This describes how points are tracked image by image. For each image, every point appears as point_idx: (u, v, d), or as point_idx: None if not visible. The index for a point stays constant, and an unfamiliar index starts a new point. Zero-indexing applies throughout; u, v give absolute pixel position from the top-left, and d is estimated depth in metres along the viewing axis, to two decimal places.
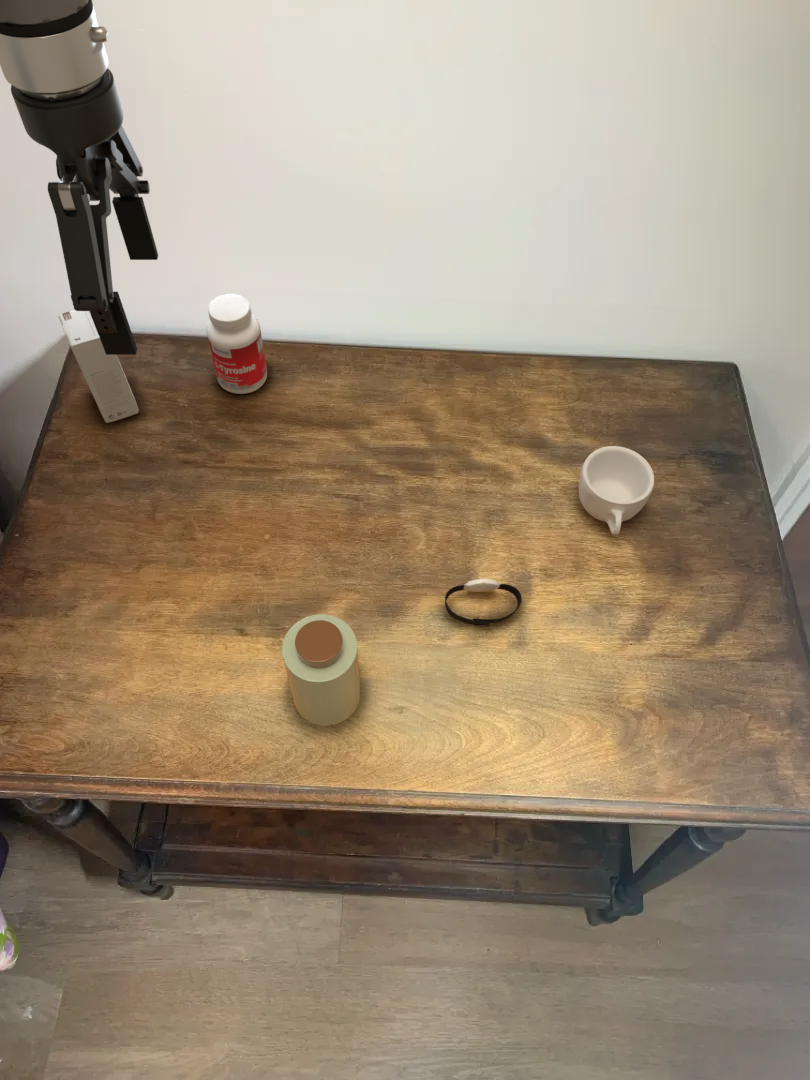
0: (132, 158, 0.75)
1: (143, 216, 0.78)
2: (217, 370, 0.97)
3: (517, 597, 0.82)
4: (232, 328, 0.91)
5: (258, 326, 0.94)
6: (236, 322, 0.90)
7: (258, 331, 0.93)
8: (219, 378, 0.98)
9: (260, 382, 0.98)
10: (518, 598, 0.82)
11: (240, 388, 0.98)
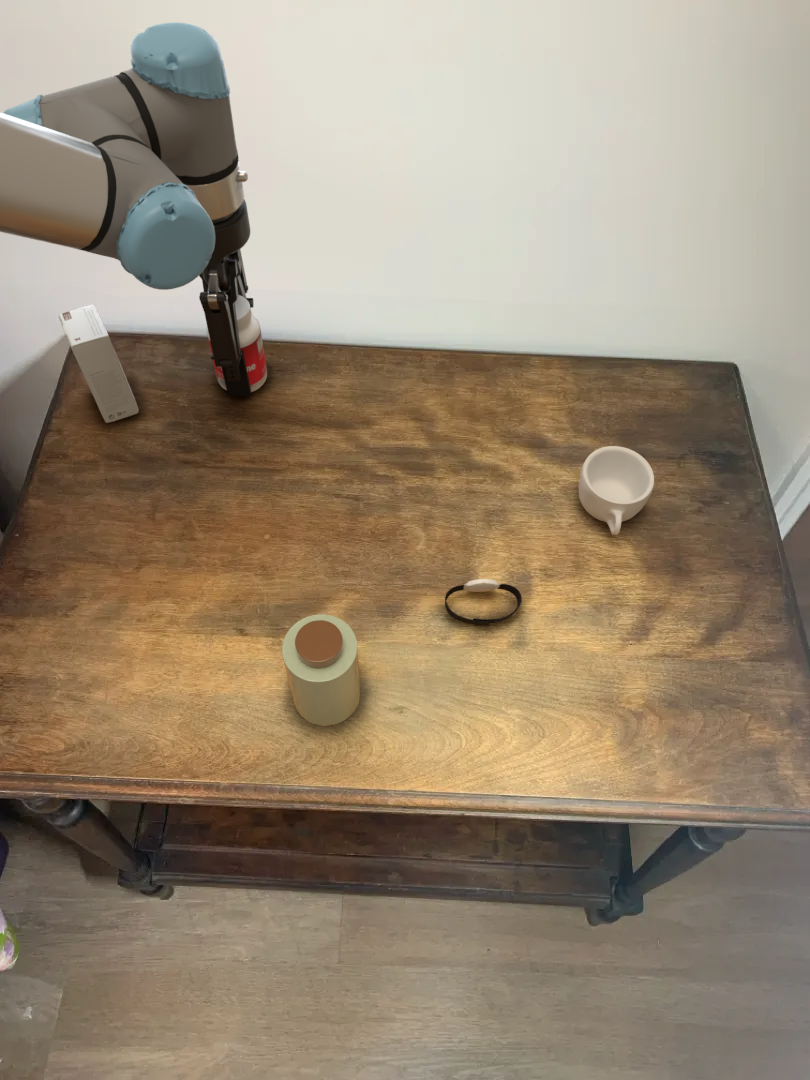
0: (243, 274, 0.94)
1: None
2: (217, 370, 0.97)
3: (517, 597, 0.82)
4: None
5: (258, 326, 0.94)
6: (237, 322, 0.90)
7: (258, 331, 0.93)
8: (219, 378, 0.98)
9: (260, 382, 0.98)
10: (518, 598, 0.82)
11: None
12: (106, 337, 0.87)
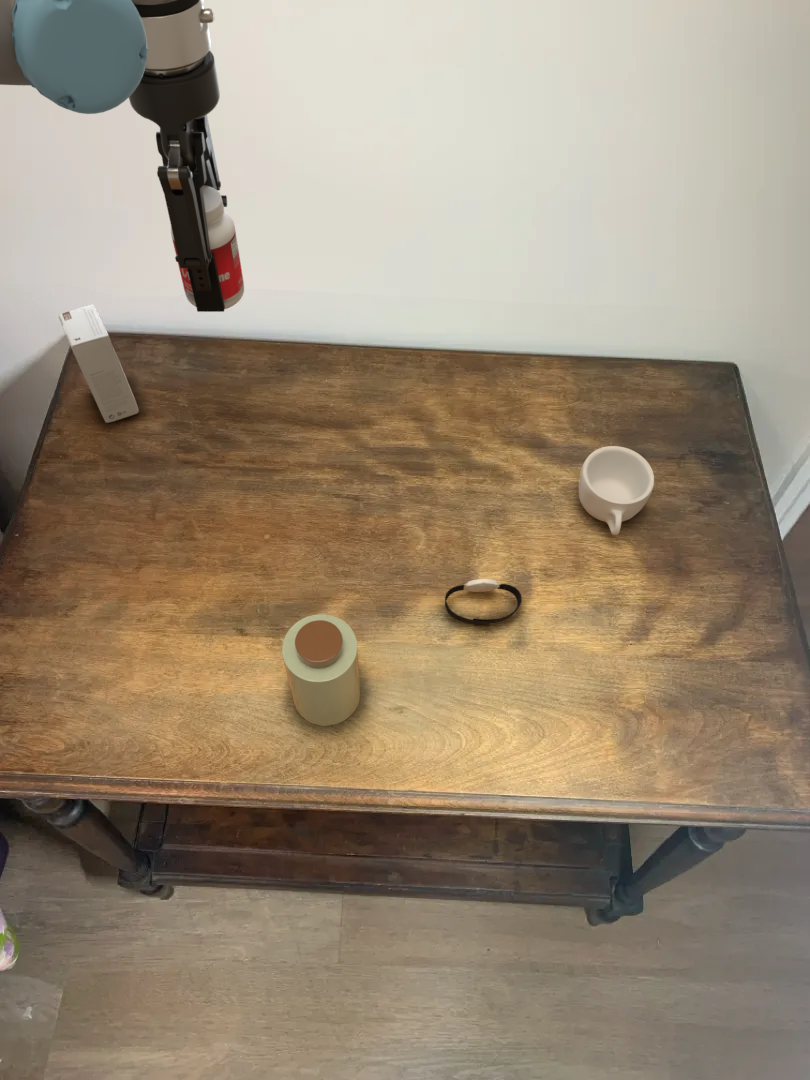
0: (214, 165, 0.80)
1: None
2: (184, 281, 0.82)
3: (517, 597, 0.82)
4: None
5: (232, 225, 0.79)
6: (206, 216, 0.76)
7: (232, 231, 0.79)
8: (187, 291, 0.83)
9: (236, 297, 0.84)
10: (518, 598, 0.82)
11: None
12: (106, 337, 0.87)
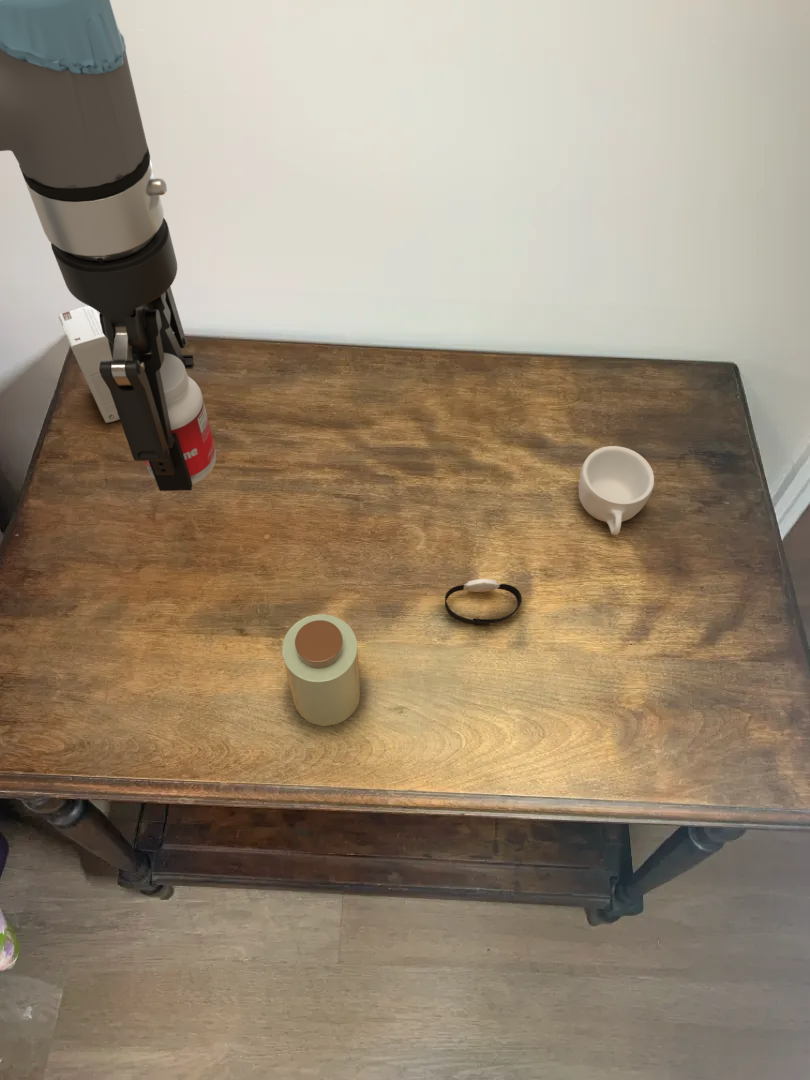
0: (177, 323, 0.66)
1: None
2: None
3: (517, 597, 0.82)
4: None
5: (199, 397, 0.66)
6: (165, 395, 0.63)
7: (199, 404, 0.66)
8: (148, 466, 0.70)
9: (206, 470, 0.71)
10: (518, 598, 0.82)
11: None
12: (106, 337, 0.87)
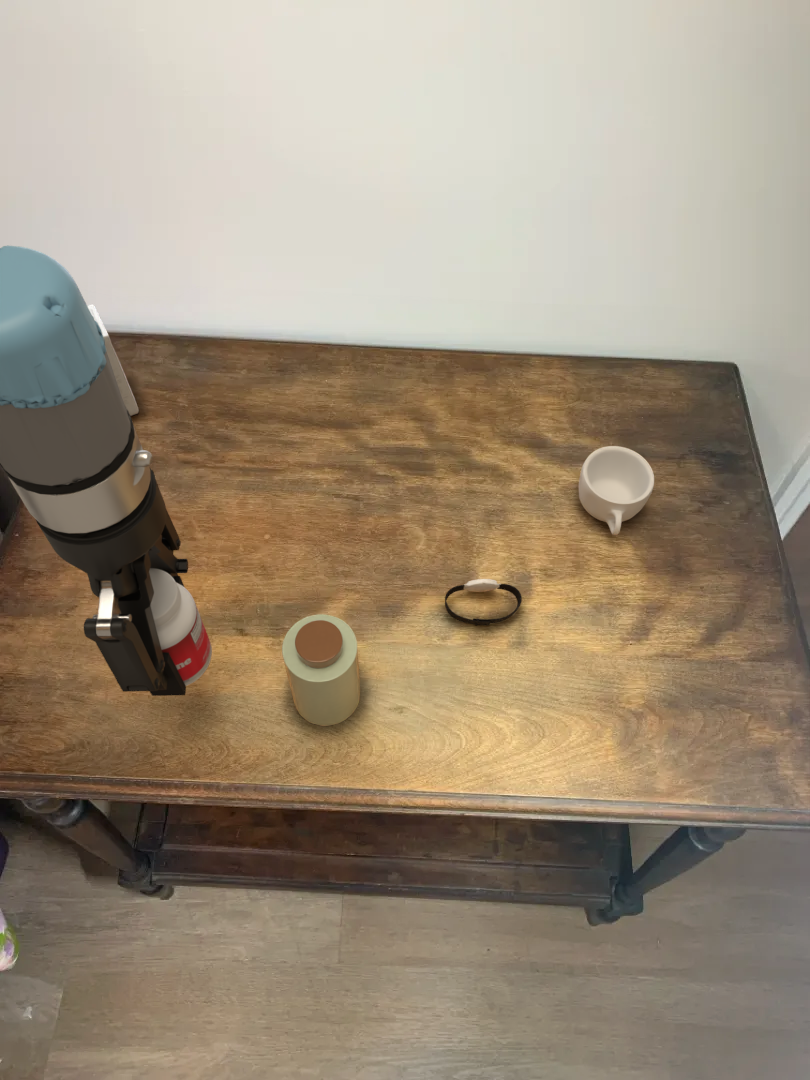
0: (170, 532, 0.64)
1: None
2: None
3: (517, 597, 0.82)
4: None
5: (192, 611, 0.63)
6: (156, 620, 0.60)
7: (192, 619, 0.63)
8: None
9: (200, 672, 0.68)
10: (518, 598, 0.82)
11: None
12: (106, 337, 0.87)
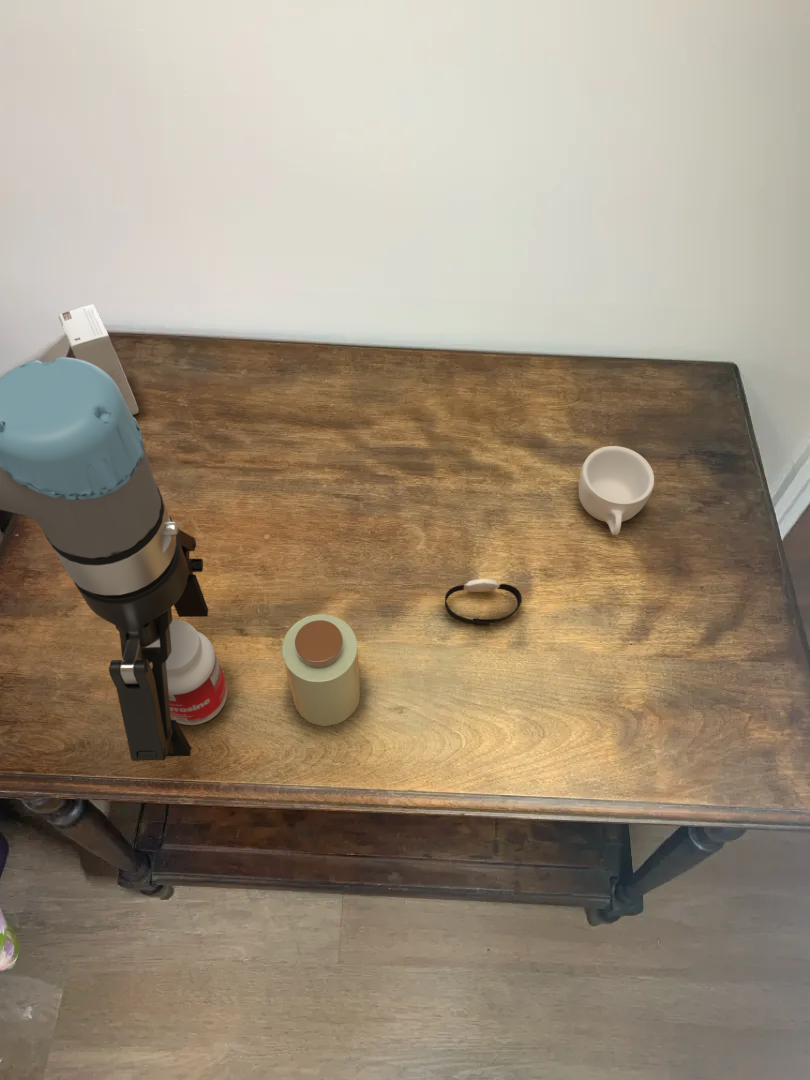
0: (187, 545, 0.70)
1: (196, 590, 0.73)
2: None
3: (517, 597, 0.82)
4: (174, 674, 0.67)
5: (212, 658, 0.70)
6: (181, 668, 0.67)
7: (212, 665, 0.70)
8: None
9: (217, 709, 0.75)
10: (518, 598, 0.82)
11: (191, 722, 0.74)
12: (106, 337, 0.87)
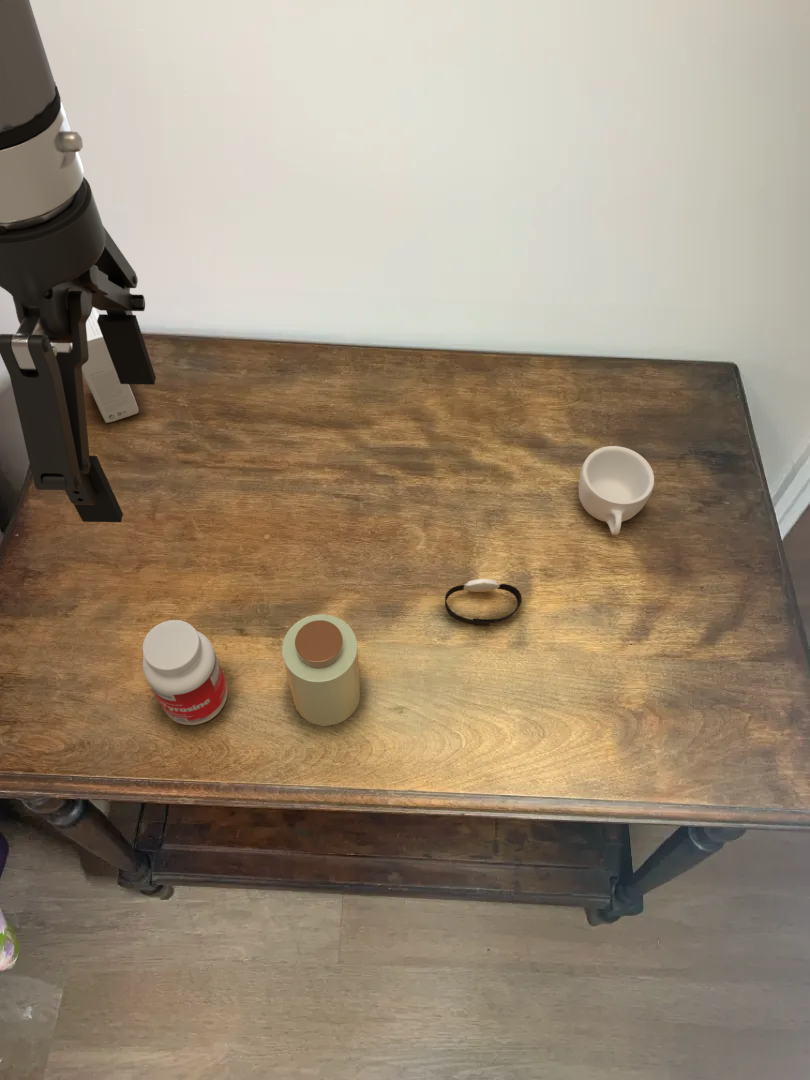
0: (123, 270, 0.58)
1: (136, 338, 0.61)
2: (160, 702, 0.73)
3: (517, 597, 0.82)
4: (174, 674, 0.67)
5: (212, 658, 0.70)
6: (181, 668, 0.67)
7: (212, 665, 0.70)
8: (163, 708, 0.74)
9: (217, 709, 0.75)
10: (518, 598, 0.82)
11: (191, 722, 0.74)
12: None
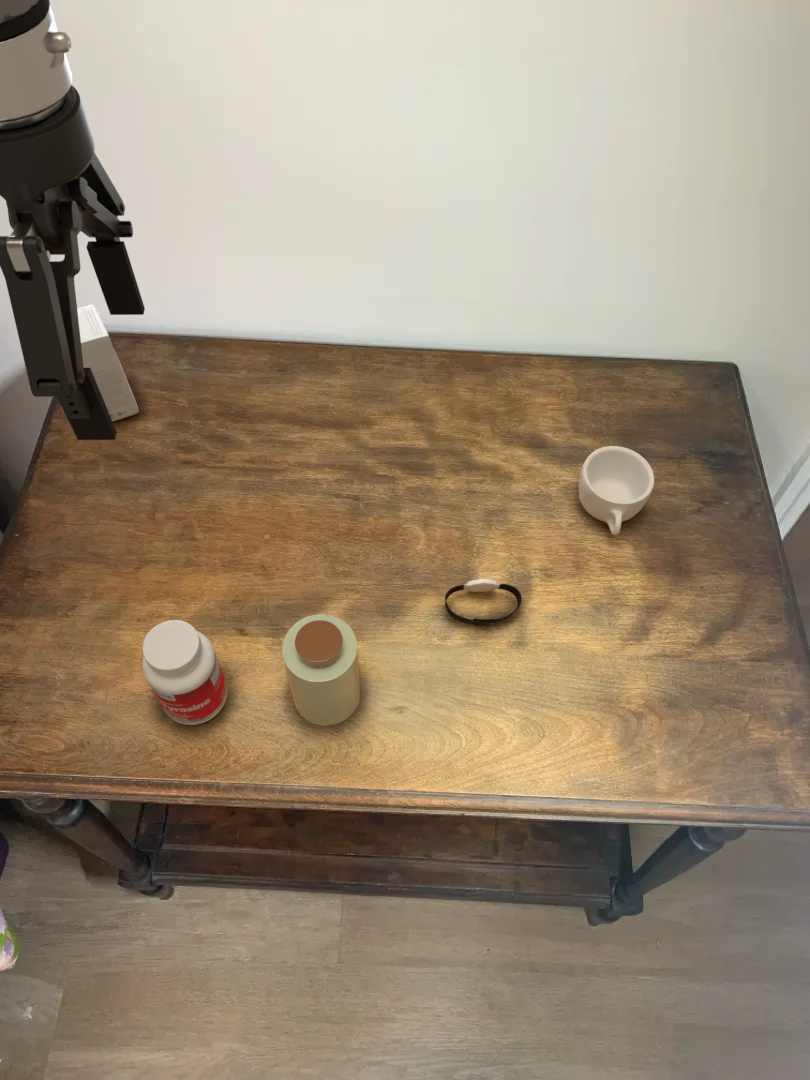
0: (111, 195, 0.60)
1: (125, 264, 0.63)
2: (160, 702, 0.73)
3: (517, 597, 0.82)
4: (174, 674, 0.67)
5: (212, 658, 0.70)
6: (181, 668, 0.67)
7: (212, 665, 0.70)
8: (163, 708, 0.74)
9: (217, 709, 0.75)
10: (518, 598, 0.82)
11: (191, 722, 0.74)
12: (106, 337, 0.87)
